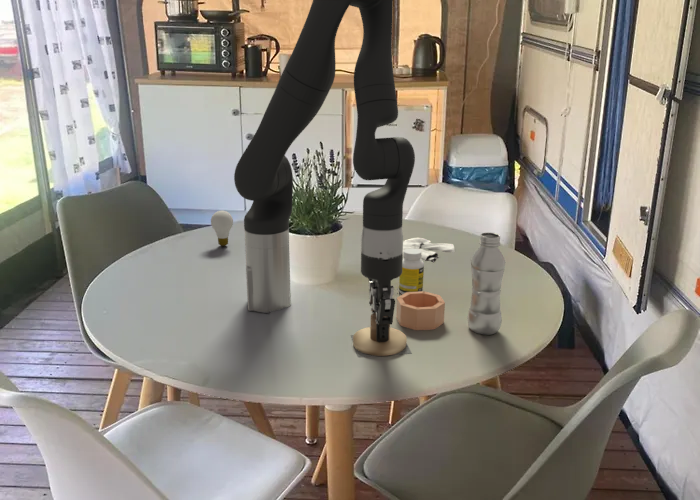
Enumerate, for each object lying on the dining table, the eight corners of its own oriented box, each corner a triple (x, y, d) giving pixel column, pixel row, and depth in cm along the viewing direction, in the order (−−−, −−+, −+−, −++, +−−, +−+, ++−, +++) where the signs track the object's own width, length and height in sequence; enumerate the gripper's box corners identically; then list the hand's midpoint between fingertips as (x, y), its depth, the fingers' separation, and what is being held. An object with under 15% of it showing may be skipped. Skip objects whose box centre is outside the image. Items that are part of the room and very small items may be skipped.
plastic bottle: (493, 341, 131) (501, 242, 124) (461, 333, 134) (467, 236, 128) (505, 329, 136) (513, 233, 129) (473, 321, 139) (480, 228, 133)
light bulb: (232, 250, 182) (230, 213, 179) (210, 249, 182) (208, 213, 179) (236, 243, 188) (234, 208, 185) (214, 243, 188) (212, 207, 185)
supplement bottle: (421, 297, 151) (423, 255, 148) (397, 295, 152) (398, 254, 149) (423, 288, 156) (425, 248, 153) (400, 286, 157) (401, 246, 154)
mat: (357, 359, 123) (357, 356, 123) (350, 338, 132) (350, 335, 132) (411, 356, 125) (411, 353, 125) (401, 334, 133) (401, 332, 133)
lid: (357, 357, 123) (357, 329, 121) (349, 333, 132) (349, 307, 130) (411, 354, 124) (412, 326, 122) (400, 330, 134) (400, 304, 132)
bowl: (403, 333, 134) (403, 310, 132) (393, 315, 142) (394, 292, 141) (447, 330, 135) (448, 307, 133) (435, 312, 143) (436, 290, 142)
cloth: (412, 237, 195) (412, 229, 195) (482, 252, 183) (482, 243, 182) (372, 256, 180) (372, 247, 179) (445, 273, 168) (446, 264, 167)
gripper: (355, 238, 128) (354, 321, 134) (367, 263, 115) (366, 355, 120) (394, 236, 129) (392, 319, 135) (411, 261, 116) (408, 352, 122)
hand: (380, 335), depth 128 cm, fingers closed on lid, 3 cm apart
